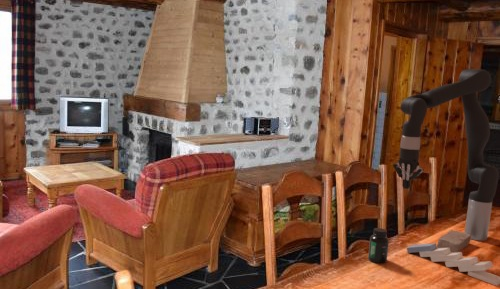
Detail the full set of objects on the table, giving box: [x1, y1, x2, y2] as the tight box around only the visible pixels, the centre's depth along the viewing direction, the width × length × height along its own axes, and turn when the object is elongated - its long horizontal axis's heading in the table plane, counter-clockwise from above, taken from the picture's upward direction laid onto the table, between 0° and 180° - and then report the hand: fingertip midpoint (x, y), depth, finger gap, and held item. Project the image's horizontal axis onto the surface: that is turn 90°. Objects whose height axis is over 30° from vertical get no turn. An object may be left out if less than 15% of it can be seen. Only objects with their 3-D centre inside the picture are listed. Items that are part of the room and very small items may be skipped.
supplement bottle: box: [368, 227, 390, 265], centre depth 170 cm, size 7×7×12 cm
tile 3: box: [430, 251, 464, 263], centre depth 170 cm, size 5×2×10 cm
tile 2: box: [418, 247, 452, 258], centre depth 174 cm, size 5×2×10 cm
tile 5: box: [457, 260, 494, 273], centre depth 161 cm, size 5×2×10 cm
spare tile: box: [406, 242, 437, 254], centre depth 178 cm, size 5×2×10 cm
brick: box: [436, 229, 472, 253], centre depth 190 cm, size 17×8×5 cm, turn 137°
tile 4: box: [444, 256, 479, 268], centre depth 165 cm, size 5×2×10 cm
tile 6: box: [467, 270, 500, 287], centre depth 159 cm, size 5×2×10 cm
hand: (406, 188), depth 185 cm, fingers closed
